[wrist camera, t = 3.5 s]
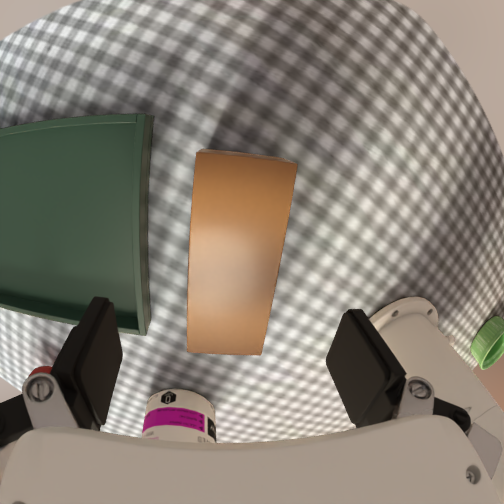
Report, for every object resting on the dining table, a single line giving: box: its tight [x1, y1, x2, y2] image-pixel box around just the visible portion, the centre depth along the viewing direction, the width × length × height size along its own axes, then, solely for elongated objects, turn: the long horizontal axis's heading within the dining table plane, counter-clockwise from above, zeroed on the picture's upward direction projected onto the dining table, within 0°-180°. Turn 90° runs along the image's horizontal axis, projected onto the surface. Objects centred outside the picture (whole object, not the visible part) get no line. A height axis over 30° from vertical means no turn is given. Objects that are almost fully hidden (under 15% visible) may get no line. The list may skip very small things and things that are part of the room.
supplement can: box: [142, 389, 216, 443], centre depth 23 cm, size 8×8×15 cm
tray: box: [0, 114, 154, 336], centre depth 18 cm, size 23×17×2 cm
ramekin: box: [471, 316, 504, 370], centre depth 31 cm, size 9×9×4 cm
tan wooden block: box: [187, 149, 298, 355], centre depth 19 cm, size 13×5×6 cm, turn 172°
